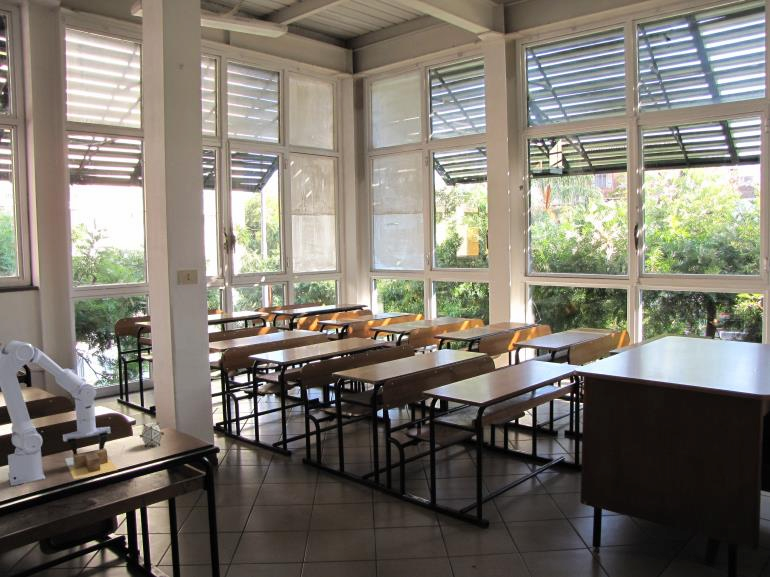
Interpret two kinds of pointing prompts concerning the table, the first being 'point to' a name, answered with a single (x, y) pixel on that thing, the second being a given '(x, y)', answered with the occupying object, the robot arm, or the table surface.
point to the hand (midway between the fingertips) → (88, 457)
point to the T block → (90, 460)
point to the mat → (84, 472)
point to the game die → (151, 434)
